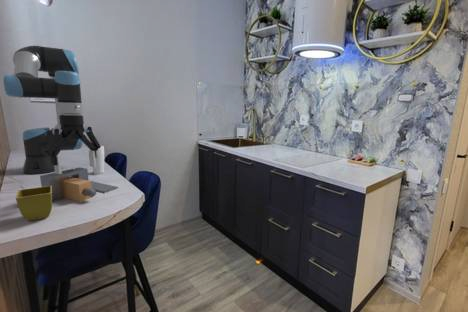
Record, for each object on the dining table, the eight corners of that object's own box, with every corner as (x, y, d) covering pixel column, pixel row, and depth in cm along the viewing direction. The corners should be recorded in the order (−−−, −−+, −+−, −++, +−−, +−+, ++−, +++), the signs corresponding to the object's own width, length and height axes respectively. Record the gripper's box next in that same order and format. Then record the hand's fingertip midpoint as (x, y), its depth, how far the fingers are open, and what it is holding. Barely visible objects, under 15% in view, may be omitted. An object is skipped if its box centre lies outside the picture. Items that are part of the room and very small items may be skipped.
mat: (71, 184, 112) (71, 183, 112) (85, 180, 119) (85, 179, 118) (104, 192, 104) (104, 191, 104) (118, 188, 110) (118, 186, 110)
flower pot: (19, 225, 74) (15, 198, 73) (22, 215, 81) (18, 189, 80) (54, 218, 79) (51, 192, 78) (54, 209, 86) (51, 185, 85)
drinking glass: (108, 172, 134) (106, 146, 131) (96, 175, 128) (94, 147, 125) (101, 170, 137) (99, 144, 134) (89, 173, 131) (86, 146, 128)
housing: (43, 199, 94) (40, 175, 92) (81, 188, 108) (79, 167, 106) (51, 202, 92) (47, 177, 90) (89, 190, 106) (87, 168, 104)
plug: (53, 194, 101) (51, 178, 99) (65, 190, 105) (64, 175, 104) (87, 203, 92) (85, 186, 91) (99, 199, 97) (98, 182, 95)
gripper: (39, 115, 78) (47, 178, 82) (107, 114, 101) (111, 164, 105) (26, 114, 81) (34, 175, 85) (95, 114, 104) (99, 162, 108)
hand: (76, 169), depth 95 cm, fingers open, 13 cm apart
